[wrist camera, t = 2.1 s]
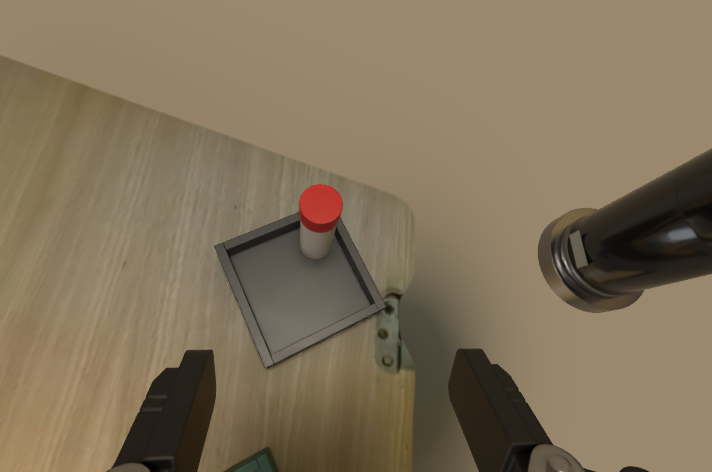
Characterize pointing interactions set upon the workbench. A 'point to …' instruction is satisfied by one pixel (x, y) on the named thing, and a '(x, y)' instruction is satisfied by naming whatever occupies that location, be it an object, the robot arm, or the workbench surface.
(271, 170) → the workbench surface
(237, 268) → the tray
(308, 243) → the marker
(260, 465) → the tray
